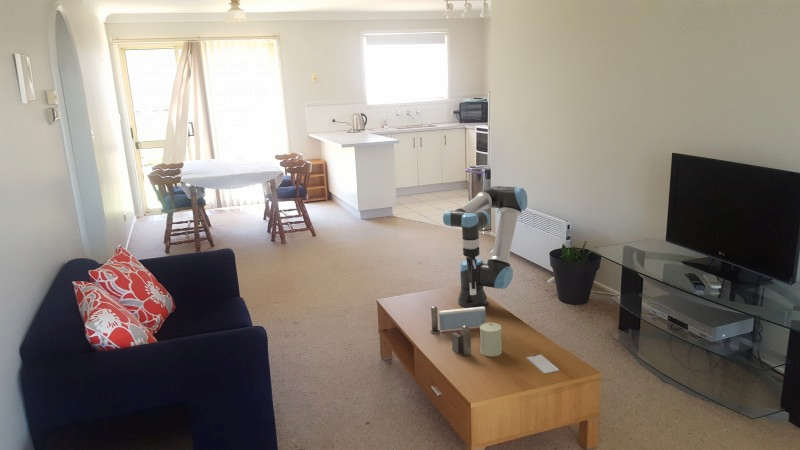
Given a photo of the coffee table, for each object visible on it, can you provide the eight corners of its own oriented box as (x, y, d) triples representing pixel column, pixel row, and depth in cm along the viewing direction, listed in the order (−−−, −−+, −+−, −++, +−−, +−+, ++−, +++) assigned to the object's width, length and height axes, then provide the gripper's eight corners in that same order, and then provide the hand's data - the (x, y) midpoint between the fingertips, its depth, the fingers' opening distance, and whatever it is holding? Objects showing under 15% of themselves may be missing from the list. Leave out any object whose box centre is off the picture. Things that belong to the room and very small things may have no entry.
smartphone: (544, 373, 228) (525, 357, 242) (544, 375, 228) (525, 358, 242) (560, 370, 230) (541, 353, 244) (560, 371, 230) (541, 355, 244)
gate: (440, 330, 271) (440, 312, 268) (439, 328, 273) (439, 310, 271) (485, 326, 273) (485, 308, 271) (484, 324, 275) (484, 306, 273)
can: (501, 347, 253) (501, 321, 250) (502, 356, 244) (501, 330, 241) (480, 346, 254) (479, 321, 252) (480, 356, 246) (479, 330, 243)
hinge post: (436, 329, 275) (435, 304, 271) (441, 332, 271) (440, 306, 268) (428, 331, 273) (427, 306, 270) (433, 334, 269) (432, 309, 266)
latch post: (461, 347, 255) (460, 319, 252) (471, 354, 248) (471, 326, 245) (452, 349, 253) (451, 322, 250) (462, 357, 246) (461, 328, 243)
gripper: (460, 243, 273) (462, 290, 279) (466, 252, 261) (468, 300, 267) (475, 241, 274) (477, 288, 280) (482, 250, 261) (484, 298, 268)
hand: (473, 294), depth 273 cm, fingers closed
